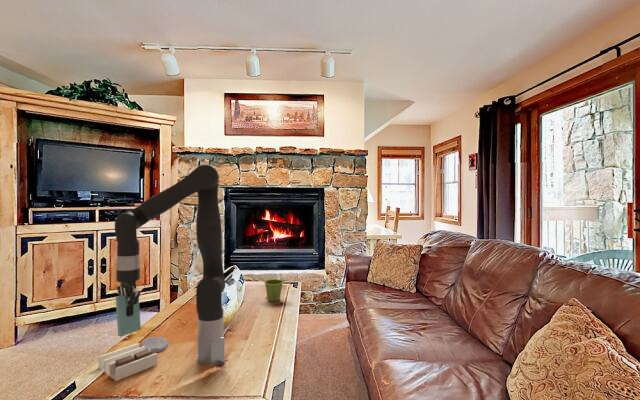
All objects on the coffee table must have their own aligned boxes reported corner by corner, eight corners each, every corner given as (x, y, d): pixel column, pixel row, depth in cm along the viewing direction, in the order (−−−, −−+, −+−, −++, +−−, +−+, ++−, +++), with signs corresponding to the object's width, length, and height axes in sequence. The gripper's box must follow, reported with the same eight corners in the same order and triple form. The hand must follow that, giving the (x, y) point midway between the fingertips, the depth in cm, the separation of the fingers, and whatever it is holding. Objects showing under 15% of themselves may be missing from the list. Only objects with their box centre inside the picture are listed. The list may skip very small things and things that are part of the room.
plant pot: (260, 301, 204) (260, 283, 203) (269, 296, 215) (269, 278, 215) (278, 304, 200) (279, 284, 200) (286, 298, 212) (286, 280, 211)
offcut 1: (134, 371, 120) (134, 357, 120) (119, 377, 116) (119, 362, 116) (130, 368, 122) (130, 354, 121) (115, 374, 118) (115, 360, 117)
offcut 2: (151, 364, 125) (151, 351, 125) (137, 370, 121) (137, 356, 120) (147, 362, 126) (147, 348, 126) (133, 367, 122) (133, 353, 122)
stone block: (166, 347, 147) (141, 346, 143) (169, 336, 147) (143, 335, 143) (166, 360, 136) (138, 360, 132) (168, 349, 136) (141, 348, 132)
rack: (157, 368, 125) (157, 353, 125) (116, 385, 114) (116, 368, 114) (138, 356, 134) (138, 343, 133) (98, 371, 122) (98, 356, 122)
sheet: (140, 329, 126) (138, 292, 125) (120, 336, 121) (118, 298, 120) (138, 328, 127) (135, 291, 127) (118, 335, 122) (115, 296, 121)
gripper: (148, 268, 122) (148, 316, 122) (130, 263, 130) (130, 308, 131) (126, 272, 116) (126, 322, 116) (108, 266, 124) (108, 313, 125)
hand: (128, 314), depth 124 cm, fingers closed on sheet, 2 cm apart
